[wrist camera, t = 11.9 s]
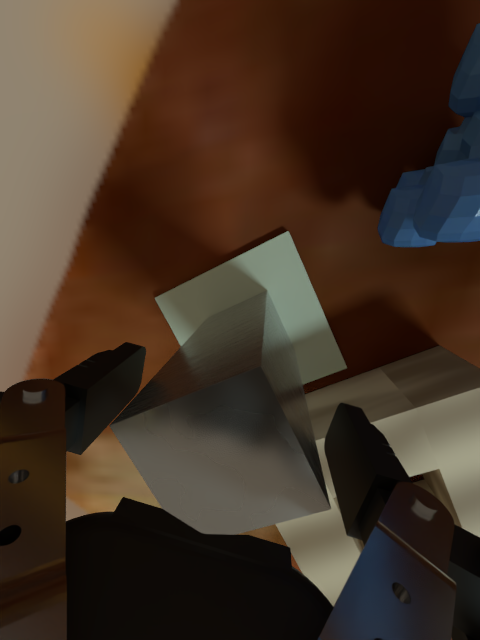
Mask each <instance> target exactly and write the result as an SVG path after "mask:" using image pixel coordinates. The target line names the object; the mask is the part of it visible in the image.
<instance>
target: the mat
mask: <svg viewBox="0 0 480 640" xmlns="http://www.w3.org/2000/svg"><path fill="white" fill-rule="evenodd" d="M267 290H268V293H269V295H270V297H271V299H272V301H273V304H274V306H275V308H276V310H277V312H278V314H279V317H280V319H281V321H282V323H283V325H284V328H285V330H286V332H287V334H288V336H289V338H290V341H291V343H292V345H293V347H294V350H295V354H296V358H297V363H298V367H299V371H300V376H301V380H302V384H306V383H309V382H311V381H314V380H317V379H319V378H322V377H325V376H327V375H330V374H333V373H335V372H338V371H341V370H343V369H346V368H347V366H346V364H345V362H344V359H343V357H342V355H341V352H340V350H339V348H338V345H337V343H336V341H335V338H334V336H333V334H332V331H331V329H330V327H329V324H328V322H327V320H326V317H325V315H324V313H323V310H322V308H321V306H320V303H319V301H318V299H317V296H316V294H315V292H314V289H313V287H312V285H311V282H310V280H309V278H308V275H307V273H306V271H305V268H304V266H303V264H302V261H301V259H300V257H299V254H298V252H297V250H296V247H295V245H294V243H293V240H292V238H291V236H290V233H289V231H287V232H285V233H283V234H281V235H279V236H277V237H275V238H273V239H271V240H269V241H267V242H265V243H263V244H261V245H259V246H257V247H255V248H253V249H251V250H249V251H247V252H245V253H243V254H241V255H239V256H237V257H235V258H233V259H231V260H229V261H227V262H225V263H223V264H221V265H219V266H217V267H215V268H213V269H211V270H209V271H207V272H205V273H203V274H201V275H199V276H197V277H195V278H193V279H191V280H189V281H187V282H185V283H183V284H181V285H179V286H177V287H175V288H173V289H171V290H169V291H167V292H165V293H163V294H161V295H159V296H157V297H155V300H156V302H157V304H158V305H159V307H160V309H161V311H162V313H163V314H164V316H165V318H166V320H167V322H168V324H169V325H170V327H171V329H172V331H173V333H174V334H175V336H176V338H177V340H178V342H179V344H180V345H181V346H182V345H183V344H184V343H185V342H186V341H187V340H188V339H189V337H190V336H191V335H192V334H193V333H194V332H195V331H196V330H197V329H198V328H199V326H200V325H201V324H202V323H203V322H204V321H205V320H206V319H207V318H208V317H210V316H212V315H214V314H216V313H218V312H220V311H223V310H225V309H227V308H229V307H231V306H234V305H236V304H238V303H240V302H242V301H245V300H247V299H249V298H251V297H253V296H256V295H258V294H260V293H262V292H264V291H267Z"/></svg>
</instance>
